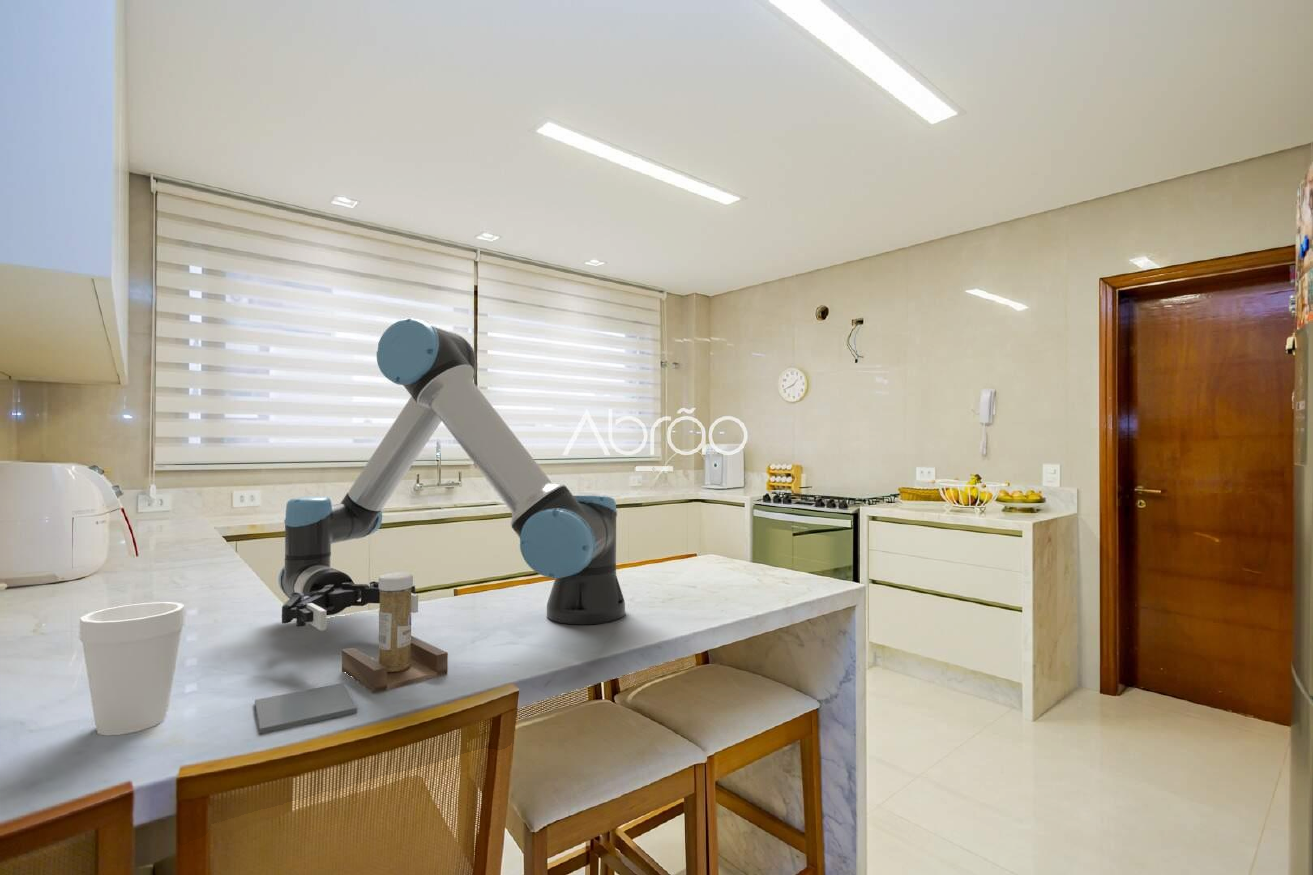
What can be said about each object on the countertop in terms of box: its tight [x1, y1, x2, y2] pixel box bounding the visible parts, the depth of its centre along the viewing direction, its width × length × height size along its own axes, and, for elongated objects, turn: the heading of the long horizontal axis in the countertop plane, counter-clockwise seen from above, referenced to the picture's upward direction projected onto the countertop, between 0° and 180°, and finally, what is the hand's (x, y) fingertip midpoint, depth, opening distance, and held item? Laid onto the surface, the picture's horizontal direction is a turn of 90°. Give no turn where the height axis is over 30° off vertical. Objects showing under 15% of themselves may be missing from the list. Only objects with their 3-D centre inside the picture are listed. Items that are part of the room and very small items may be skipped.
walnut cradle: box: [341, 635, 449, 694], centre depth 90 cm, size 10×12×3 cm
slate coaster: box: [254, 682, 358, 735], centre depth 78 cm, size 10×10×1 cm
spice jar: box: [378, 571, 414, 673], centre depth 90 cm, size 5×5×14 cm
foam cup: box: [78, 601, 186, 736], centre depth 74 cm, size 10×9×13 cm
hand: (372, 611), depth 95 cm, fingers open, 13 cm apart
